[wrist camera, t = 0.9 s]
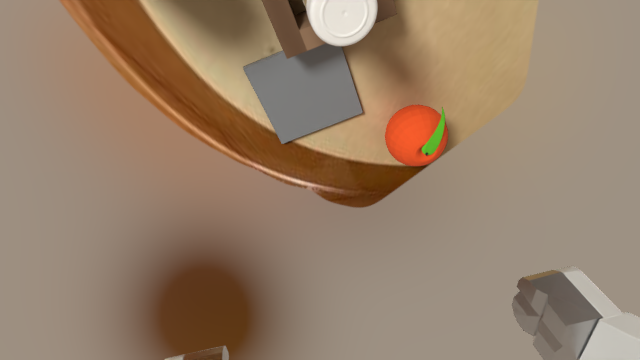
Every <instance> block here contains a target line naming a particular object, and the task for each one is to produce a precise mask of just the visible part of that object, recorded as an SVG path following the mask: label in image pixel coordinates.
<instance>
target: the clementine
mask: <svg viewBox="0 0 640 360" xmlns="http://www.w3.org/2000/svg"><path fill="white" fill-rule="evenodd" d="M385 140H386V145H387V148H388V150H389V152H390V153H391V155H392V156H393V157H394V158H395V159H396V160H397V161H399V162H401V163H403V164H405V165H409V166H423V165H427V164H429V163H431V162H433V161H434V160H436V159H437V158H438V157H439V156H440V155H441V154H442V152H443V150H444V148H445V147H446V144H447V141H448V129H447V126H446V123H445V114H444V110H443V107H442V116H441V115H440V114H439V113H438V112H437V111H435V110H434V109H432V108H430V107H427V106H423V105H411V106H407V107H405V108H403V109H401V110H399V111H398V112H397V113H395V114H394V115H393V116H392V118H391V119H390V120H389V123H388V125H387V128H386V133H385Z"/></svg>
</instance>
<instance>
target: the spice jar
mask: <svg viewBox="0 0 640 360" xmlns="http://www.w3.org/2000/svg"><path fill="white" fill-rule="evenodd" d="M303 2H304V5H305V7H306V10H307V16H308V19H309V22H310V24H311V26H312V28H313V30H314V32H315V33H316V35H317V36H318V37H319V38H320V39H321V40H323V41H324V42H326V43H328V44H330V45H334V46H348V45H352V44H354V43H356V42H358V41H360V40H361V39H363V38H364V37H365V36H366V35H367V34H368V33H369V31H370V30H371V29H372V27H373V25H374V23H375V20H376V16H377V10H378V5H377V0H303Z"/></svg>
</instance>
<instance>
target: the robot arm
mask: <svg viewBox="0 0 640 360" xmlns="http://www.w3.org/2000/svg"><path fill="white" fill-rule="evenodd" d="M517 287H518V289H519V290H520V292H518V293H517V294H516V296H514V298H513V303H512V307H513V311H514V315H515V317H516V320H517V322H518V323H519V325H520V326H521V328H522V329H523V330H524V331H525V332H527V333H529V334H531V335H532V336H533V345H534V347H535V348H536V349H537V351H538V352H539V353H540V355H541V356H542V358H543V359H544V360H640V318H639V317H637V316H635V315H632V314H631V313H629V312H627V313H622V312H621V311H620V310H619V309H618V308H617V307H616V306H615V305H614V304H613V303H612V302H611V301H610V300H609V299H608V298H607V297H606V296H605V295H604V294H603V293H602V291H601V290H600V289H598V288H597V286H596V285H595V284H593V282H592V281H591V280H590V279H589V278H588V277H587V276H586V275H585V274H584V273H583V272H582V271H581V270H580V269H578V268H577V267H575V266H569V267H566V268H561V269H557V270H551V271H547V272H543V273H539V274H535V275H530V276H527V277H522V278H521V279H520V280H519V281H518V284H517ZM165 360H229V354H228V351H227V348H226V346H222V347H218V348H213V349H209V350H205V351H199V352H195V353H190V354H184V355H180V356H176V357H171V358H167V359H165Z"/></svg>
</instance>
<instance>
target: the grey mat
mask: <svg viewBox="0 0 640 360" xmlns="http://www.w3.org/2000/svg"><path fill="white" fill-rule="evenodd" d="M243 69H244V71H245V73H246V75H247V77H248V79H249V81H250V83H251V85H252V87H253V89H254V91H255V93H256V94H257V96H258V98H259V100H260V102H261V104H262V106H263V108H264V110H265V112H266V114H267V116H268V118H269V120H270V122H271V124H272V125H273V127H274V129H275V131H276V133H277V135H278V137H279V139H280V141H281V143H282V144H283V143H286V142H288V141H291V140H294V139H296V138H299V137H301V136H304V135H307V134H309V133H312V132H314V131H317V130H320V129H322V128H325V127H327V126H330V125H333V124H335V123H338V122H340V121H343V120H345V119H348V118H351V117H353V116H356V115H358V114H361V113H363V111H362V108H361V105H360V102H359V99H358V96H357V93H356V90H355V87H354V84H353V80H352V77H351V74H350V71H349V68H348V65H347V62H346V59H345V56H344V53H343V50H342V46H334V45H330V44H328V43H325V44H323V45H320V46H318V47H315V48H313V49H311V50H308V51H306V52H303V53H301V54H298V55H296V56H293V57H291V58H289V59H287V58H286V56H285V53H284V51H281V52H278V53H276V54H273V55H271V56H269V57H266V58H264V59H261V60H259V61H256V62H254V63H251V64H249V65H247V66H244V67H243Z"/></svg>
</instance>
